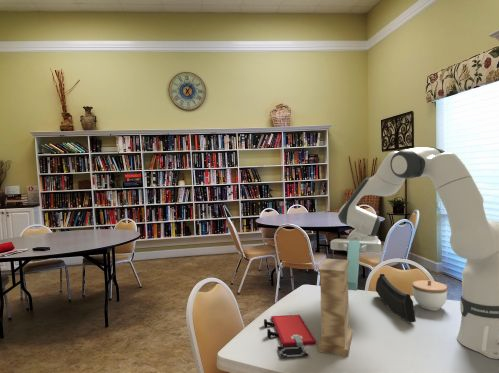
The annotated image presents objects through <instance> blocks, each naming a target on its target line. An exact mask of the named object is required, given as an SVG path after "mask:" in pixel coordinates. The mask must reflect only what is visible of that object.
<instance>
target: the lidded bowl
mask: <svg viewBox="0 0 499 373" xmlns="http://www.w3.org/2000/svg"><path fill="white" fill-rule="evenodd" d="M411 287H412V295H413V298H414V300H415V301H416V302H417V304H418V305H419V306H420V308H422V309H424V310H427V311H429V310H430V311H439V310H440V309H441V308H442V307H443V306H444V305H445V304H446V303H447V302H446V301H447V297H448V286H447V285H446V284H444V283H441V282H439V281H435V280H431V279H427V280H426V279H425V280H415V281H413V282H412V286H411Z"/></svg>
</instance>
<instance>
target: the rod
mask: <svg viewBox="0 0 499 373" xmlns="http://www.w3.org/2000/svg"><path fill="white" fill-rule="evenodd" d="M359 247H360V241H349V247H348V251H347V255H346V256H347V257H346V260H349V265H348V291H356V292H357V291H358V283H359V282H358V279H359V267H360V266H359V265H360V255H361V253H360V251H359V250H360V249H359Z"/></svg>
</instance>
